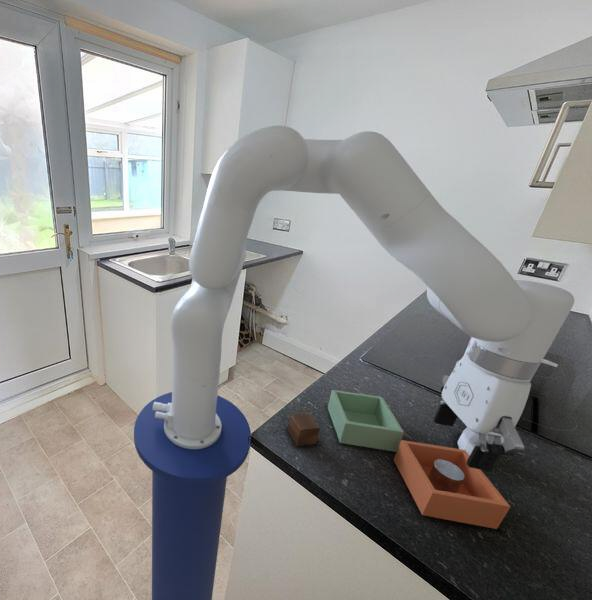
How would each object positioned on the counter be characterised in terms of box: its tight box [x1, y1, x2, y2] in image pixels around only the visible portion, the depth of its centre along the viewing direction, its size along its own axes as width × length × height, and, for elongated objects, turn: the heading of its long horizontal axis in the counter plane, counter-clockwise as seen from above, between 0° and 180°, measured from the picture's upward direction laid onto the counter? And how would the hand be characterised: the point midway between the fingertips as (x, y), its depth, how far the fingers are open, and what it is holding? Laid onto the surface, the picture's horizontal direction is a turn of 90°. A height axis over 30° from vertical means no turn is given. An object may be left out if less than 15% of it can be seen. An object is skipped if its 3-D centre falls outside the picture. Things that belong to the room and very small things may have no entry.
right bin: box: [393, 439, 511, 530], centre depth 57 cm, size 12×12×6 cm
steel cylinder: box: [428, 459, 464, 493], centre depth 57 cm, size 4×4×5 cm
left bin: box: [327, 389, 405, 453], centre depth 72 cm, size 12×12×6 cm
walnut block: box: [287, 412, 321, 447], centre depth 68 cm, size 4×4×4 cm
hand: (458, 443), depth 54 cm, fingers open, 9 cm apart
